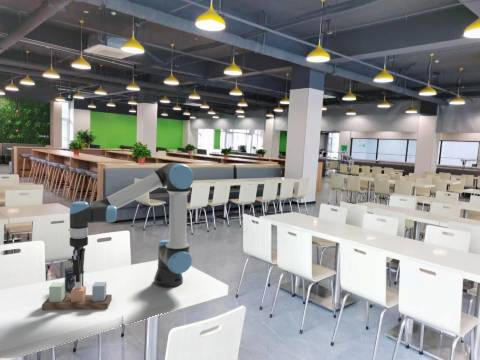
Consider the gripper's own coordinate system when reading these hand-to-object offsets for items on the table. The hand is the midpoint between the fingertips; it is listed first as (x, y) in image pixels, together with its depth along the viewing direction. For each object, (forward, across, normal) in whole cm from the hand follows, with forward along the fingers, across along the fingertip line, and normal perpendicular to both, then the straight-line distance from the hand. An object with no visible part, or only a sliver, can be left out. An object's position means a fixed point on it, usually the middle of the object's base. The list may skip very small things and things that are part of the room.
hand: (78, 288), depth 168 cm
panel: (+8, 0, 0) cm, 8 cm away
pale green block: (+5, 0, -9) cm, 10 cm away
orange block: (+7, 0, 0) cm, 7 cm away
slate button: (+5, 0, +9) cm, 10 cm away
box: (+8, -19, -7) cm, 22 cm away
